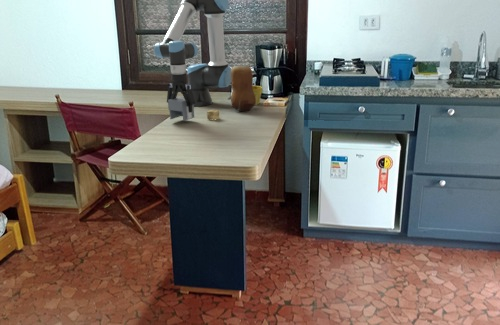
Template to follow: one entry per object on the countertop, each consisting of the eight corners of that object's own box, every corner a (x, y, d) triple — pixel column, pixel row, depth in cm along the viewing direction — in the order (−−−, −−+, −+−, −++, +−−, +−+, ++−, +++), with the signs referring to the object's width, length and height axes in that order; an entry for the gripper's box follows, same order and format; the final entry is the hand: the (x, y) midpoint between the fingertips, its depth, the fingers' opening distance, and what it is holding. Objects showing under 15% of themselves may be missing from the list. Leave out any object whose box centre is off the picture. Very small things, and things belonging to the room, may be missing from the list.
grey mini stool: (169, 119, 246) (167, 100, 243) (180, 115, 253) (179, 96, 250) (183, 121, 242) (181, 101, 238) (194, 117, 249) (193, 98, 246)
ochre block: (207, 119, 252) (206, 111, 250) (212, 118, 255) (211, 109, 254) (214, 120, 250) (214, 112, 248) (219, 118, 253) (219, 110, 252)
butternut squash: (243, 106, 278) (242, 62, 270) (260, 110, 269) (259, 64, 261) (225, 111, 269) (223, 65, 261) (242, 114, 260) (241, 67, 252)
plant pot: (260, 105, 280) (260, 88, 276) (243, 105, 282) (242, 88, 278) (263, 102, 289) (263, 85, 286) (246, 101, 291) (246, 85, 288)
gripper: (156, 73, 242) (160, 117, 250) (191, 75, 232) (194, 121, 239) (166, 70, 249) (170, 113, 256) (200, 73, 238) (203, 118, 245)
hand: (181, 117), depth 247 cm, fingers closed on grey mini stool, 9 cm apart
